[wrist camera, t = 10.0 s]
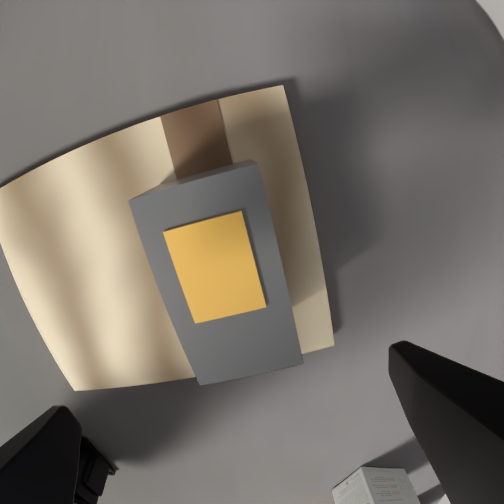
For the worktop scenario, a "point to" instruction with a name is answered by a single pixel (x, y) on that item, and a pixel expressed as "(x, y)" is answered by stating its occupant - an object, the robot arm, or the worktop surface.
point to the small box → (376, 487)
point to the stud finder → (220, 272)
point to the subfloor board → (129, 243)
